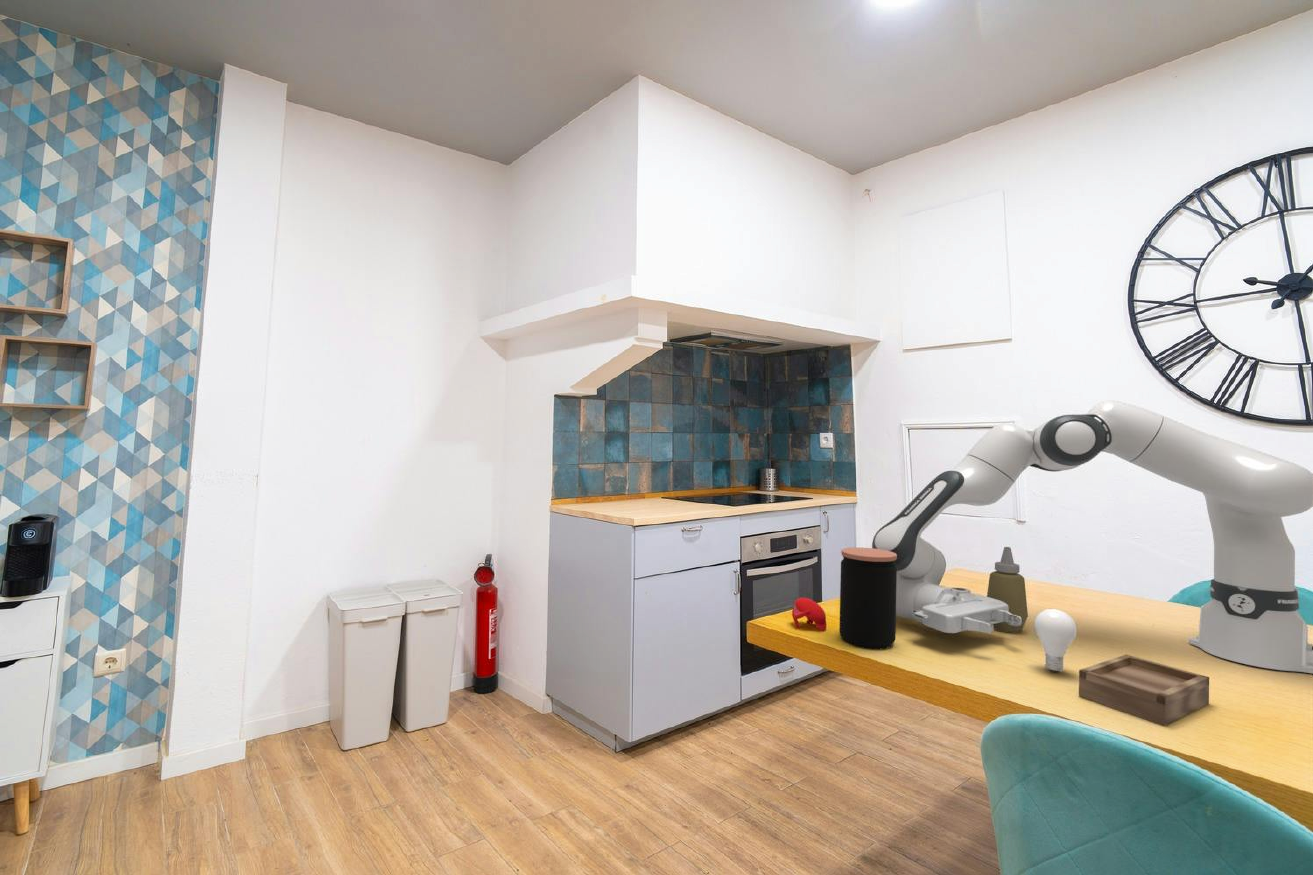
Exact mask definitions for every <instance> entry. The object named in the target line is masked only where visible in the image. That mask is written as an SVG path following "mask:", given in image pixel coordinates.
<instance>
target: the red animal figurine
mask: <svg viewBox="0 0 1313 875" xmlns="http://www.w3.org/2000/svg"><path fill="white" fill-rule="evenodd" d="M791 615H792V619H793V622H794V626H795V627H796V628H797V629H798V628H800V623H799V621H798V620H799V619H802V618H804V617H806V618H807V620H806V621H805V623H806V625H809V624H813V623H814V625H815V626H816V628H817V629H818V630H819V631H820V632H825V631H826V630H827V617H826V612H825V610H824V609H823V608H822V607H821V605H820V604H819V603H817V602H816V601H814V600H812V599H810V598H807V597H799V598H797V599H796V600H795V601H794V606H793V608H792V611H791Z"/></svg>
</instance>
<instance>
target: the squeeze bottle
mask: <svg viewBox="0 0 1313 875" xmlns="http://www.w3.org/2000/svg"><path fill="white" fill-rule="evenodd" d="M994 570H995V571H992V572H989V573H990V574H989V577H988V578H989V579H988V586H987V593H986V596H987V597H990V598H993V599H996V600H1000V601H1002V602H1004V603H1006V604H1007V605H1008V607H1009V612H1010V613H1011V614H1013V615H1016V616H1020V617H1021V619H1022V624H1021V625H1019V626H1013V625H1009V624H1008V623H1007V622H1000V623H996V624H993V625H994V627H993V629H994V630H997V631H1000V632H1004V633H1014V634H1017V633H1021V632H1022V631H1023V629H1024V627H1025V625H1026V622H1027V620H1028V617H1029V610H1028V602H1027V589H1026V583H1025V582H1026V581H1025V577H1024V576H1023V575H1022V574H1020V564H1017V563H1015V562H1014V556H1013V553H1012V549H1011V546H1004V548H1003V551H1002V554H1001V557H1000V560H999V561H996V562H994Z"/></svg>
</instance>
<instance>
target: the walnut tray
mask: <svg viewBox="0 0 1313 875" xmlns="http://www.w3.org/2000/svg"><path fill="white" fill-rule="evenodd" d="M1078 697H1079V698H1082V699H1084V700H1085V699H1086V700H1089V701H1091V702H1094V703H1097V704H1100V705H1103V706H1106V707H1109V708H1110V709H1111V708H1112V709H1114V710H1117V711H1121V712H1123V713H1126V714H1129V715H1131V716H1135V717H1138V718H1140V719H1143V720H1146V721H1150V722H1151V723H1155V724H1158V725H1161V726H1164V727H1165V726H1168V725H1169V724H1172V723H1174V722H1175V721H1178V720H1180V719H1181V718H1183V717H1186V716H1189V715H1190V714H1191V713H1194V712H1195V711H1198V710H1200V709H1202V708H1203V707H1205V706H1207V705H1209V704H1210V677H1209V676H1206V675H1202V674H1198V673H1195V672H1192V671H1188V670H1184V669H1180V668H1177V667H1173V666H1169V665H1166V664H1162V663H1159V662H1156V661H1151V660H1147V659H1145V658H1141V657H1138V656H1133V655H1130V654H1123V655H1120V656H1118V657H1114V658H1111V659H1108V660H1105V661H1102V662H1099V663H1096V664H1093V665H1089V666H1086V667H1083V668H1081V669H1079V670H1078Z"/></svg>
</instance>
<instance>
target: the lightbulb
mask: <svg viewBox="0 0 1313 875" xmlns="http://www.w3.org/2000/svg"><path fill="white" fill-rule="evenodd" d="M1033 629H1034V631H1035V634H1036V636H1037V637H1038V638H1039V640H1040V642H1041V643H1042V648H1043V651H1044V653H1045V654H1044V655H1045V661H1044V663H1045V666H1044V667H1045V668H1047V669H1048V670H1050V671H1051V672H1053V673H1058V672H1062V671H1064V659H1065V655H1066V654H1067V649H1068V647H1069V646H1070V645H1071V644H1072V642H1074V641H1075V639H1076V637H1077V634H1078V628H1077V625H1076V623H1075V620H1074V619H1073V617H1071V616H1070V615H1069V614H1068V613H1066V612H1065V611H1063V610H1060V609H1057V608H1046V609H1043V610H1041V611H1040V612H1038V613H1037V614H1036V616H1035V617H1034V620H1033Z"/></svg>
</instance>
